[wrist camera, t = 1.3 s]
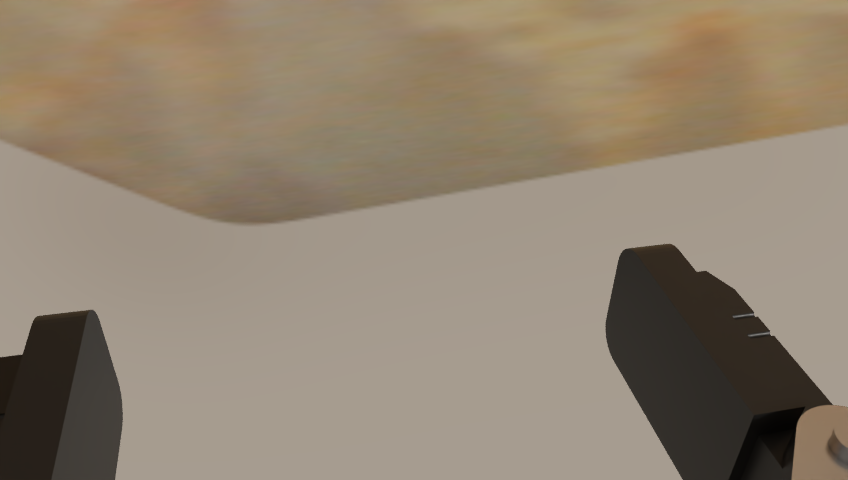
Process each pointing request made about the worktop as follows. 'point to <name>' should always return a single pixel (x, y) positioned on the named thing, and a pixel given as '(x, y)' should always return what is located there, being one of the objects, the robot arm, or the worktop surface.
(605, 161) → the worktop surface
